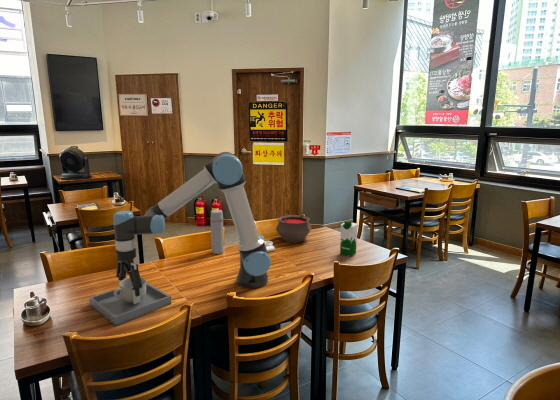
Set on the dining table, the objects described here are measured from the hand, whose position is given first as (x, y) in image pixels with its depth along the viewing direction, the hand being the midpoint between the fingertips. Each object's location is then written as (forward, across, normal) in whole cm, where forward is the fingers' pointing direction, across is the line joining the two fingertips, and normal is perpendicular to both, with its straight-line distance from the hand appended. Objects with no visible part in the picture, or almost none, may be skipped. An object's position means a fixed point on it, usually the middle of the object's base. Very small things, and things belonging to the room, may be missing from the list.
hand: (130, 298), depth 159 cm
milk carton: (+3, -34, -116) cm, 121 cm away
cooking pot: (+3, +7, -115) cm, 115 cm away
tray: (+3, 0, 0) cm, 3 cm away
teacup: (+1, 0, 0) cm, 1 cm away
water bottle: (+3, +24, -66) cm, 70 cm away
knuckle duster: (+4, +9, -86) cm, 87 cm away
